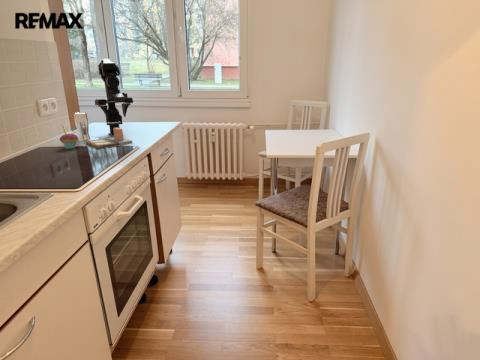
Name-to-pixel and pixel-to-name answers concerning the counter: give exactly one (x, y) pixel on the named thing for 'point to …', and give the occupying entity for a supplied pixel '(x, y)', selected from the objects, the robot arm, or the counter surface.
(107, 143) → the block
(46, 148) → the counter surface
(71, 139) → the cupcake
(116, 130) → the gray plate with block
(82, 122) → the beer glass
